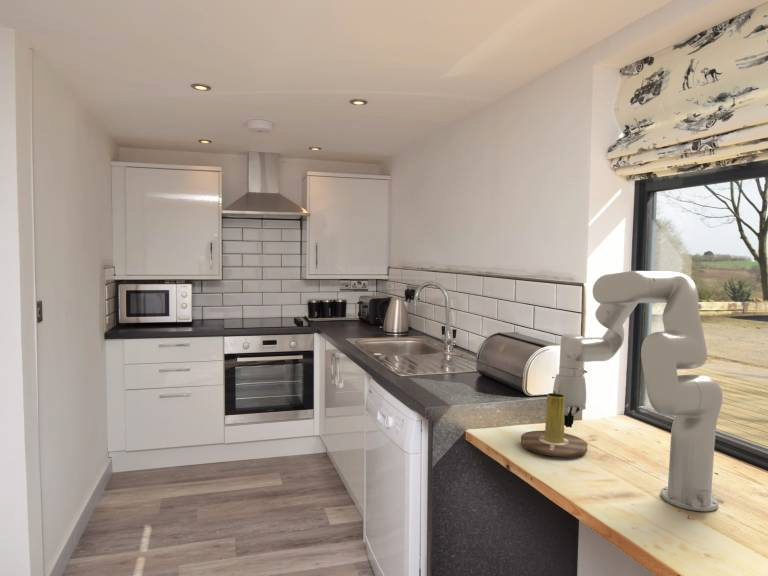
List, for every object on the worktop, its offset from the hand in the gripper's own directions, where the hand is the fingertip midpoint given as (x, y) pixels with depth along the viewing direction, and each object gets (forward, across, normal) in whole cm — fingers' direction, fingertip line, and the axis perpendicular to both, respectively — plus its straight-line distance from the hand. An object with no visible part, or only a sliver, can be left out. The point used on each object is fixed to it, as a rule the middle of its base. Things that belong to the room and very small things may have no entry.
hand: (567, 426), depth 185 cm
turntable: (+3, +8, +10) cm, 13 cm away
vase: (+1, +8, +11) cm, 14 cm away
